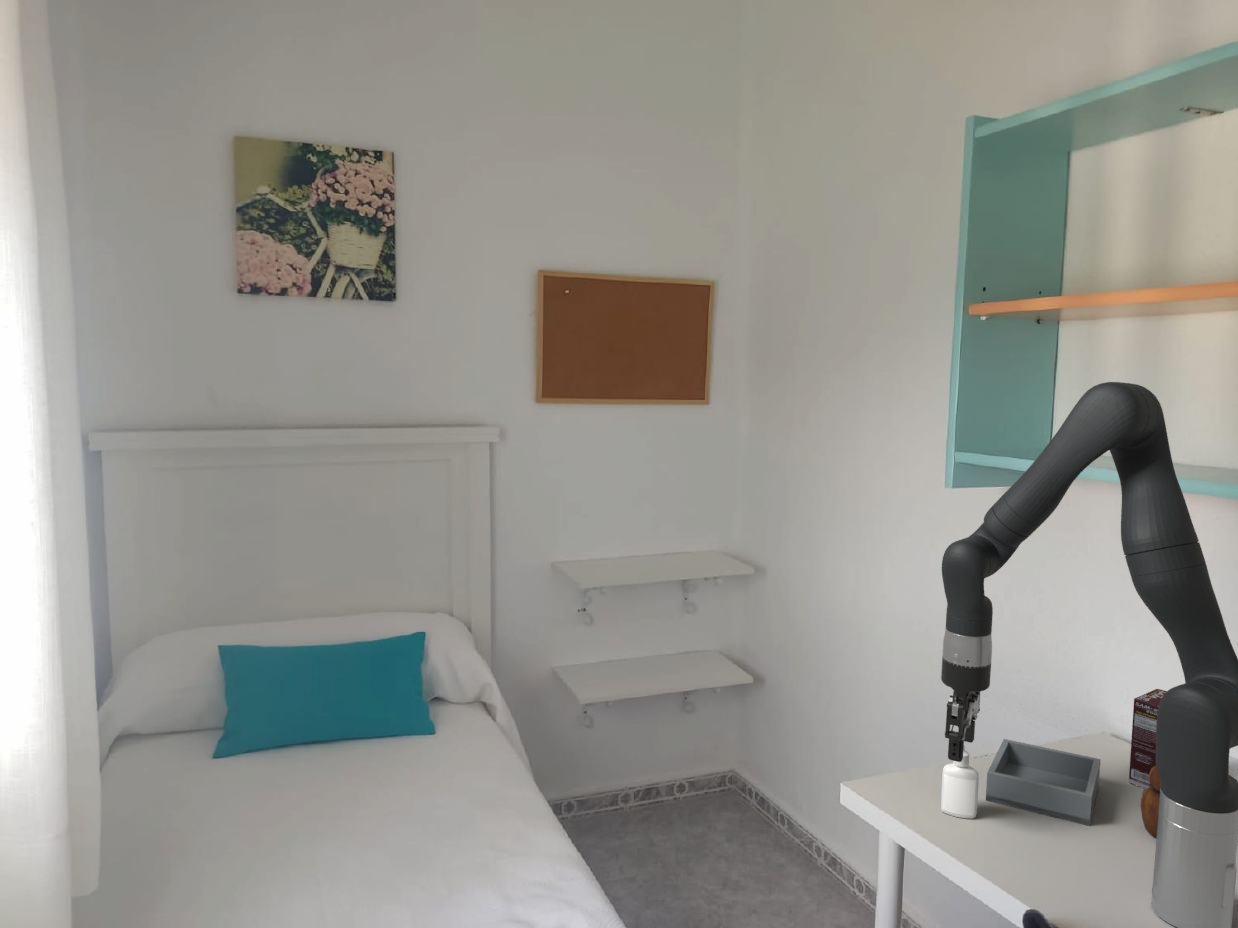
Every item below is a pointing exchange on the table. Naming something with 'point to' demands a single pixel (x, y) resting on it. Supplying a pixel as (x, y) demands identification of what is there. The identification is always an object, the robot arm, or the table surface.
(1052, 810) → the box
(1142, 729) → the supplement box
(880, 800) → the table surface
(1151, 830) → the wooden figurine
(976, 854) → the table surface
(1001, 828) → the table surface
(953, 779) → the eye dropper bottle
